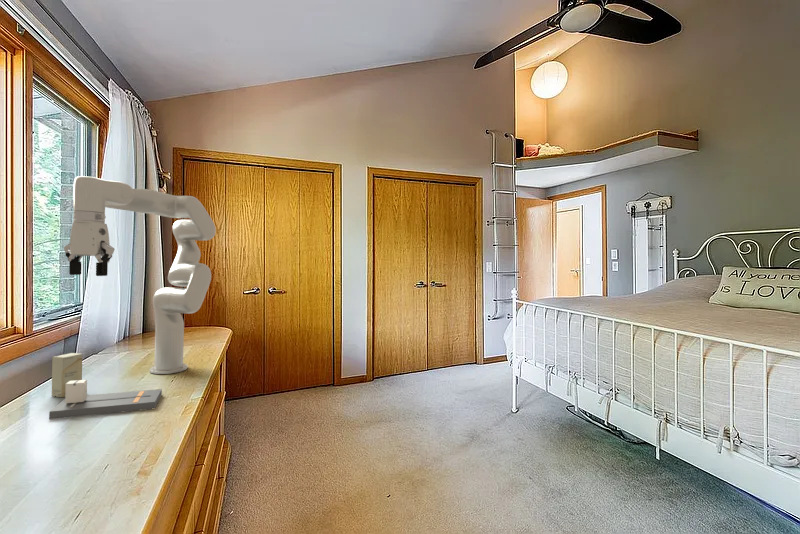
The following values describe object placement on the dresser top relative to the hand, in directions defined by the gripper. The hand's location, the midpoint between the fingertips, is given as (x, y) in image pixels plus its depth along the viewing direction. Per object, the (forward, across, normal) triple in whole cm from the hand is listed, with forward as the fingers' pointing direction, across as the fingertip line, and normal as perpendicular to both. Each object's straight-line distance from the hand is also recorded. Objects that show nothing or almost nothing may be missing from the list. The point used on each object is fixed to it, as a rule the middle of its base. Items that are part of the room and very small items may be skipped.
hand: (88, 275), depth 122 cm
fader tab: (+35, -6, +8) cm, 36 cm away
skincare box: (+38, +9, -1) cm, 39 cm away
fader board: (+37, -13, +4) cm, 40 cm away
